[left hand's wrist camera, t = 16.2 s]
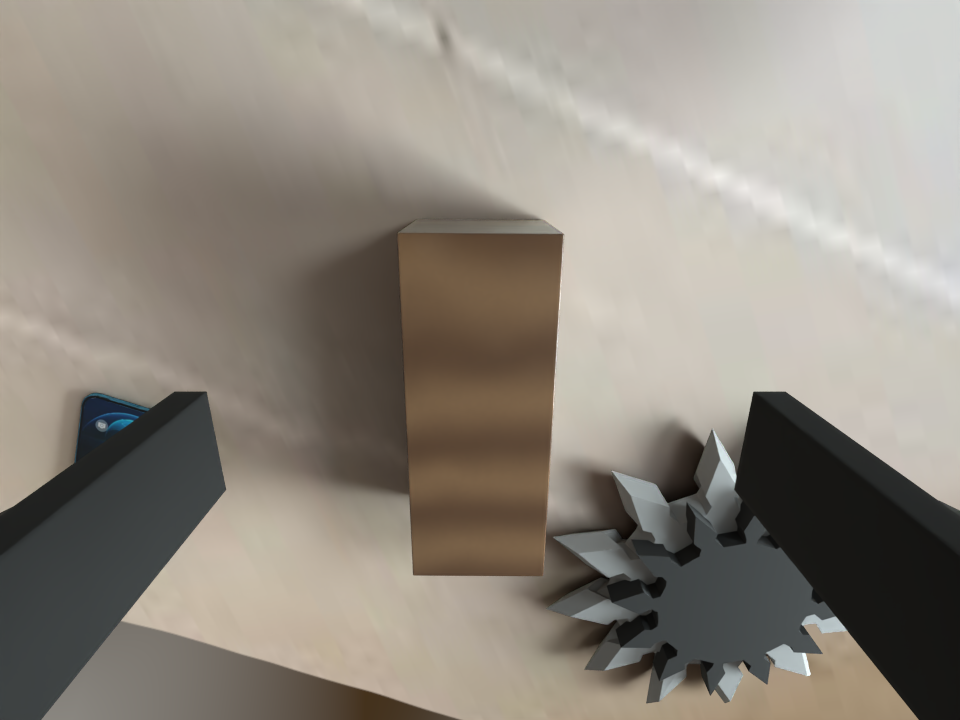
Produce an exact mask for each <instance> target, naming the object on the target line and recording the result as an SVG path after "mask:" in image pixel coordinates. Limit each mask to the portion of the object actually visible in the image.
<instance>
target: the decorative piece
mask: <svg viewBox="0 0 960 720" xmlns="http://www.w3.org/2000/svg"><path fill="white" fill-rule="evenodd" d="M611 472H612V475H613V478H614V480H615V483H616V486H617V489H618V492H619V494H620V497H621V500H622V503H623V506H624V508H625V511H626V512H627V513H628V514H629V516H630V517H631V518H632V519H633V520H634V521H635V522H636V523H637V524H638V526H637V528H636V530H635V531H634V532H633V534H632V535H631V536H630V537H629V538H628V539H622V537H621V536H620V535H619V533H618V532H617V530H616V529H609V530H600V531H591V532H581V533H573V534H567V535H561V536H555V537H553V538H554V539H556V540H557V541H558V542H559V543H561V544H562V545H563V546H564V547H566V548H567V549H568V550H569V551H571V552H572V553H573V554H574V555H576V556H577V557H578V558H579V559H581V560H582V561H583V562H584V563H586V564H587V565H588V566H590V567H592V568H593V569H595V570H597V571H598V572H600V573H601V574H603V575H605V576H606V577H610V579H609V580H608V579H605V578H599V579H597V580H595V581H593V582H591V583H589V584H587V585H585V586H583V587H580V588H578V589H576V590H574V591H572V592H570V593H568V594H566V595H565V596H563V597H562V598H560V599H559V600H558V601H556V602H555V603H553V604H552V605H550V606H549V607H548V608H546V609H548V610H551V611H554V612H557V613H561V614H564V615H567V616H570V617H574V618H579V619H583V620H588V621H592V622H596V623H601V624H605V625H608V624H609V623H611V622H612V621H613V620H617V621H618V622H616V623H615V625H614V626H613V627H612V629H611V630H610V631H609V633H608V634H607V636H606V637H605V638H604V640H603V641H602V642H601V644H600V645H599V646H598V648H597V650H596V651H595V653H594V654H593V656H592V658H591V659H590V661H589V662H588V664H587V666H586V667H585V669H584V670H598V671H605V670H609V669H613V668H617V667H621V666H625V665H628V664H632V663H636V662H640V660H641V657H642V655H644V654H647V653H651V652H654V653H655V656H654V660H653V667H652V673H651V678H650V684H649V690H648V696H647V702H646V703H652V702H659V701H660V700H661V699H662V698H664V697H665V696H666V695H667V694H668V693H669V692H670V691H671V690H672V689H673V688H674V687H675V686H677V685H678V684H679V683H680V682H681V681H682V680H683V679H684V678H685V677H686V667H687V665H688V664H700V667H701V674H702V678H703V680H704V682H705V685H706V687H707V689H708V692H709V694H710V696H711V694H712V693H713V691H714V690H716V692H717V693H718V695H719V696H720V697H721V699H722V700H723V701H724V703H727V702H729V701H731V699H732V697H733V695H734V693H735V691H736V689H737V687H738V684H739V682H740V680H741V678H742V676H743V674H742V672H741V671H740V670H739V668H738V666H739V665H740V664H741V662H742V661H743V662H744V664H745V665H746V667H747V669H748V671H749V672H750V673H752V674H753V675H755V676H756V677H757V678H759V679H760V680H761V681H763V682H764V683H766V684H768V677H769V670H770V662H769V660H768V659H767V657H766V654H768V656H769V657H770V659H771V661H772V662H773V664H774V666H775V667H777V668H781V669H784V670H788V671H792V672H795V673H799V674H803V675H806V676H809V675H810V670H809V666H808V662H807V658H806V654H805V653H814V654H823V653H822V652H821V651H820V649H819V648H818V646H817V645H816V643H815V642H814V641H813V639H812V638H811V636H810V635H809V634H808V632H807V631H806V629H805V628H804V627H803V626H804V625H805V624H817V626H818V628H819V630H820V631H821V633H829V632H840V631H847V630H846V628H845V627H844V626H843V625H842V623H841V622H840V621H839V620H838V618H837V617H836V616H835V615H834V614H833V612H832V611H831V610H830V609H829V607H828V606H827V605H826V604H825V602H824V601H823V600H822V599H821V597H820V596H819V595H818V594H817V592H816V591H815V590H814V589H813V587H812V586H811V585H810V584H809V582H808V581H807V580H806V579H805V577H804V576H803V575H802V574H801V572H800V571H799V570H798V569H797V567H796V566H795V565H794V564H793V563H792V561H791V560H790V559H789V558H788V556H787V555H786V554H785V553H784V551H783V550H782V549H781V548H780V546H779V545H778V544H777V543H776V541H775V540H774V539H773V538H772V536H771V535H770V534H769V533H768V531H767V530H766V529H765V528H764V526H763V525H762V524H761V523H760V521H759V520H758V519H757V518H756V516H755V515H754V514H753V513H752V512H751V510H750V509H749V508H748V507H747V505H746V504H745V503H744V502H743V500H742V499H741V498H740V497H739V495H738V494H737V493H736V492H735V490H734V487H735V482H736V472H735V467H734V464H733V462H732V460H731V458H730V457H729V455H728V453H727V452H726V450H725V448H724V447H723V445H722V443H721V442H720V440H719V438H718V437H717V435H716V433H715V432H714V430H713V428H712V430H711V433H710V436H709V438H708V441H707V444H706V446H705V449H704V452H703V454H702V457H701V459H700V462H699V465H698V467H697V470H696V473H695V476H694V478H693V479H694V481H695V482H696V484H697V486H698V487H699V490H698V492H697V493H696V494H694V495H691V496H688V497H685V498H682V499H679V500H676V501H673V502H670V503H667V502H666V500H665V499H664V497H663V496H662V494H661V492H660V489H659V488H658V487H657V485H656V484H654V483H650V482H647V481H644V480H641V479H638V478H634V477H631V476H628V475H625V474H622V473H618V472H615V471H612V470H611Z"/></svg>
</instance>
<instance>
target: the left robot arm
mask: <svg viewBox="0 0 960 720" xmlns="http://www.w3.org/2000/svg"><path fill="white" fill-rule="evenodd" d="M225 490H226V487H225V482H224V477H223V472H222V467H221V462H220V457H219V452H218V447H217V442H216V437H215V432H214V427H213V422H212V417H211V412H210V407H209V402H208V397H207V392H173V393H172V394H171V395H169V396H168V397H166V398H165V399H164V400H162V401H161V402H159V403H158V404H157V405H155V406H154V407H152V408H151V409H150V410H148V411H147V412H145V413H144V414H143V415H141V416H140V417H138V418H137V419H136V420H134V421H133V422H131V423H130V424H129V425H127V426H126V427H124V428H123V429H122V430H120V431H119V432H117V433H116V434H115V435H113V436H112V437H110V438H109V439H108V440H106V441H105V442H103V443H102V444H101V445H99V446H98V447H96V448H95V449H94V450H92V451H91V452H89V453H88V454H87V455H85V456H84V457H82V458H81V459H80V460H78V461H77V462H75V463H74V464H73V465H71V466H70V467H68V468H67V469H66V470H64V471H63V472H61V473H60V474H59V475H57V476H56V477H54V478H53V479H52V480H50V481H49V482H47V483H46V484H45V485H43V486H42V487H40V488H39V489H38V490H36V491H35V492H33V493H32V494H30V495H29V496H28V497H26V498H25V499H23V500H22V501H21V502H19V503H18V504H16V505H15V506H14V507H11V508H9V509H7V510H5V511H3V512H1V513H0V720H41V719H42V718H43V717H44V715H45V714H46V713H47V712H48V711H49V709H50V708H51V707H52V706H53V704H54V703H55V702H56V701H57V699H58V698H59V697H60V696H61V694H62V693H63V692H64V691H65V689H66V688H67V687H68V686H69V684H70V683H71V682H72V681H73V679H74V678H75V677H76V676H77V674H78V673H79V672H80V671H81V669H82V668H83V667H84V666H85V664H86V663H87V662H88V661H89V659H90V658H91V657H92V656H93V655H94V653H95V652H96V651H97V650H98V648H99V647H100V646H101V645H102V643H103V642H104V641H105V640H106V638H107V637H108V636H109V635H110V633H111V632H112V631H113V630H114V628H115V627H116V626H117V625H118V623H119V622H120V621H121V620H122V618H123V617H124V616H125V615H126V614H127V612H128V611H129V610H130V609H131V607H132V606H133V605H134V604H135V602H136V601H137V600H138V599H139V597H140V596H141V595H142V594H143V592H144V591H145V590H146V589H147V587H148V586H149V585H150V584H151V582H152V581H153V580H154V579H155V577H156V576H157V575H158V574H159V572H160V571H161V570H162V569H163V567H164V566H165V565H166V564H167V563H168V561H169V560H170V559H171V558H172V556H173V555H174V554H175V553H176V551H177V550H178V549H179V548H180V546H181V545H182V544H183V543H184V541H185V540H186V539H187V538H188V536H189V535H190V534H191V533H192V531H193V530H194V529H195V528H196V526H197V525H198V524H199V523H200V521H201V520H202V519H203V518H204V516H205V515H206V514H207V513H208V512H209V510H210V509H211V508H212V507H213V505H214V504H215V503H216V502H217V500H218V499H219V498H220V497H221V495H222V494H223V493H224V492H225ZM734 490H735V492H736V493H737V494H738V495H739V497H740V498H741V499H742V500H743V502H744V503H745V504H746V505H747V507H748V508H749V509H750V510H751V512H752V513H753V514H754V515H755V516H756V518H757V519H758V520H759V521H760V523H761V524H762V525H763V526H764V528H765V529H766V530H767V531H768V533H769V534H770V535H771V536H772V538H773V539H774V540H775V541H776V543H777V544H778V545H779V546H780V548H781V549H782V550H783V551H784V553H785V554H786V555H787V556H788V558H789V559H790V560H791V561H792V563H793V564H794V565H795V566H796V567H797V569H798V570H799V571H800V572H801V574H802V575H803V576H804V577H805V579H806V580H807V581H808V582H809V584H810V585H811V586H812V587H813V589H814V590H815V591H816V592H817V594H818V595H819V596H820V597H821V599H822V600H823V601H824V602H825V604H826V605H827V606H828V607H829V609H830V610H831V611H832V612H833V614H834V615H835V616H836V617H837V618H838V620H839V621H840V622H841V623H842V625H843V626H844V627H845V628H846V630H847V631H848V632H849V633H850V635H851V636H852V637H853V638H854V640H855V641H856V642H857V643H858V645H859V646H860V647H861V648H862V650H863V651H864V652H865V653H866V655H867V656H868V657H869V658H870V660H871V661H872V662H873V663H874V664H875V666H876V667H877V668H878V669H879V671H880V672H881V673H882V674H883V676H884V677H885V678H886V679H887V681H888V682H889V683H890V684H891V686H892V687H893V688H894V689H895V691H896V692H897V693H898V694H899V696H900V697H901V698H902V699H903V701H904V702H905V703H906V704H907V706H908V707H909V708H910V709H911V711H912V712H913V713H914V714H915V715H916V717H917V718H918V719H919V720H960V511H959V510H957V509H955V508H953V507H951V506H949V505H947V504H945V503H943V502H941V501H938V500H937V499H935V498H934V497H932V496H931V495H930V494H928V493H927V492H925V491H924V490H922V489H921V488H920V487H918V486H917V485H915V484H914V483H913V482H911V481H910V480H908V479H907V478H906V477H904V476H903V475H901V474H900V473H899V472H897V471H896V470H894V469H893V468H892V467H890V466H889V465H887V464H886V463H885V462H883V461H882V460H880V459H879V458H878V457H876V456H875V455H873V454H872V453H871V452H869V451H868V450H866V449H865V448H864V447H862V446H861V445H859V444H858V443H857V442H855V441H854V440H852V439H851V438H850V437H848V436H847V435H845V434H844V433H843V432H841V431H840V430H838V429H837V428H836V427H834V426H833V425H831V424H830V423H829V422H827V421H826V420H824V419H823V418H822V417H820V416H819V415H817V414H816V413H815V412H813V411H812V410H810V409H809V408H808V407H806V406H805V405H803V404H802V403H801V402H799V401H798V400H796V399H795V398H794V397H792V396H791V395H789V394H788V393H787V392H753V397H752V402H751V407H750V412H749V417H748V422H747V427H746V432H745V437H744V442H743V447H742V452H741V457H740V462H739V467H738V472H737V477H736V482H735V487H734Z"/></svg>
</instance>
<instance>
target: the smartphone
mask: <svg viewBox="0 0 960 720" xmlns="http://www.w3.org/2000/svg"><path fill="white" fill-rule="evenodd" d="M148 410H150V409H149V408H145V407H142V406H139V405H136V404H132V403H129V402H126V401H123V400H120V399H116V398H113V397H110V396H107V395H103V394H99V393H92V394H90V395H88V396H87V397H85V398H84V400H83V402H82V406H81V414H80V422H79V430H78V438H77V446H76V454H75V462H77V461H78V460H80V459H81V458H82V457H84V456H85V455H87V454H88V453H89V452H91V451H92V450H94V449H95V448H96V447H98V446H99V445H101V444H102V443H103V442H105V441H106V440H108V439H109V438H110V437H112V436H113V435H115V434H116V433H117V432H119V431H120V430H122V429H123V428H124V427H126V426H127V425H129V424H130V423H131V422H133V421H134V420H136V419H137V418H138V417H140V416H141V415H143V414H144V413H145V412H147V411H148ZM75 462H74V463H75Z"/></svg>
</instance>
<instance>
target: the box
mask: <svg viewBox="0 0 960 720" xmlns="http://www.w3.org/2000/svg"><path fill="white" fill-rule="evenodd" d="M397 244H398V265H399V286H400V307H401V328H402V349H403V371H404V392H405V413H406V434H407V455H408V476H409V497H410V518H411V539H412V560H413V575H437V576H543V572H544V556H545V540H546V523H547V507H548V491H549V475H550V458H551V442H552V426H553V410H554V394H555V377H556V361H557V345H558V329H559V313H560V296H561V280H562V264H563V248H564V234H563V233H562V232H560V231H559V230H557V229H556V228H555V227H553V226H552V225H550V224H549V223H548V222H546V221H545V220H479V219H417V220H415V221H414V222H412V223H411V224H409V225H408V226H407V227H405V228H404V229H402V230H401V231H399V232H398V233H397Z"/></svg>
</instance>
